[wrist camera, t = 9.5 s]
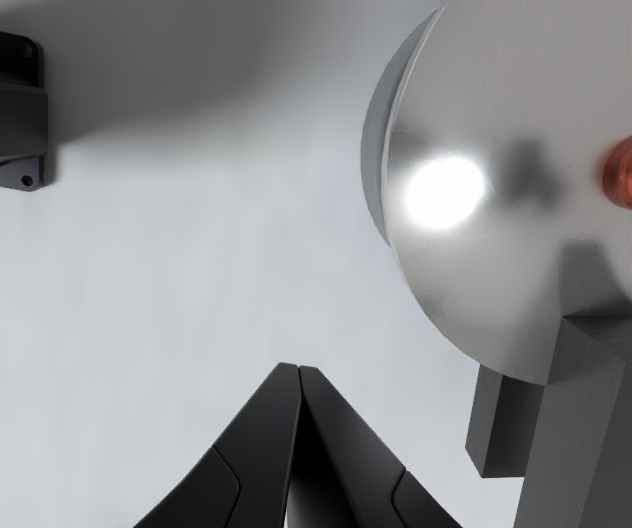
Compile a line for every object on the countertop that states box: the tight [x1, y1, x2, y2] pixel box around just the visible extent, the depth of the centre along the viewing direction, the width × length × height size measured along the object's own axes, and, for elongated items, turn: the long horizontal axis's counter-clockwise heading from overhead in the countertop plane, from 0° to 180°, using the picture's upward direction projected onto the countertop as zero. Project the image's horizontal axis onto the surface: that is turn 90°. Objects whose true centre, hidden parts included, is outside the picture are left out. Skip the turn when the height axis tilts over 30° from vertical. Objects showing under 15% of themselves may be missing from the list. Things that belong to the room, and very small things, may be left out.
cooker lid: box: [381, 0, 632, 528], centre depth 14 cm, size 25×16×4 cm, turn 179°
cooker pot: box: [361, 10, 545, 478], centre depth 18 cm, size 26×15×7 cm, turn 178°
